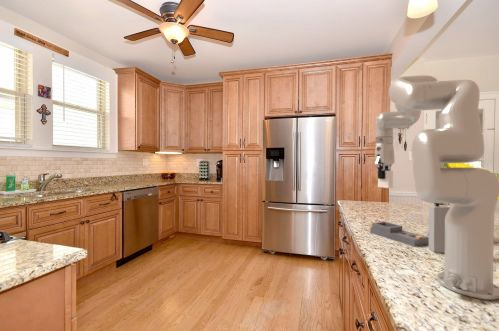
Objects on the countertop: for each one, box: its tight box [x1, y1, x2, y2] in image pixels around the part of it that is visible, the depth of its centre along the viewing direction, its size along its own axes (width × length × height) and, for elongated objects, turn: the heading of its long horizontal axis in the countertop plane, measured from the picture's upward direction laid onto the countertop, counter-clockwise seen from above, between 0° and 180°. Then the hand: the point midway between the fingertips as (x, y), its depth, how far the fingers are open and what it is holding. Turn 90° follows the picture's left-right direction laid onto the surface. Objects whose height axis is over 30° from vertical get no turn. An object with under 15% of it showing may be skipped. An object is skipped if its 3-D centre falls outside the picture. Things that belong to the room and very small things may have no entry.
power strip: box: [369, 221, 429, 247], centre depth 104 cm, size 9×20×5 cm, turn 24°
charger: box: [377, 170, 394, 189], centre depth 115 cm, size 4×5×8 cm
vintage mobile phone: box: [428, 203, 451, 254], centre depth 88 cm, size 4×5×25 cm
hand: (384, 178), depth 116 cm, fingers closed on charger, 4 cm apart
